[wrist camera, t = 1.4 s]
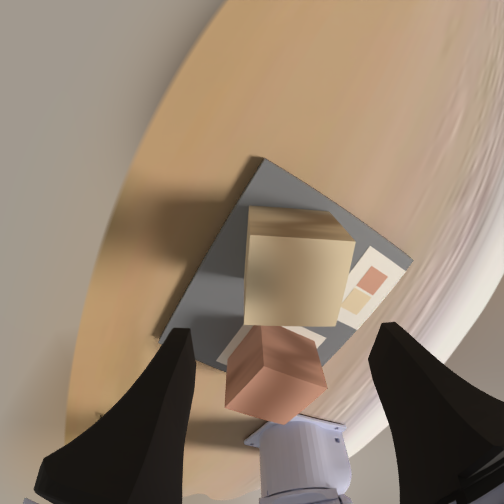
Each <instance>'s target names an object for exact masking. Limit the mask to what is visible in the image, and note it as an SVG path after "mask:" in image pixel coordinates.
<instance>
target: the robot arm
mask: <svg viewBox="0 0 504 504" xmlns="http://www.w3.org/2000/svg"><path fill="white" fill-rule="evenodd" d="M368 361H369V365H370V370H371V374H372V378H373V382H374V384H375V387H376V390H377V393H378V395H379V398H380V401H381V403H382V406H383V409H384V411H385V414H386V417H387V420H388V423H389V426H390V429H391V432H392V436H393V441H394V447H395V452H396V458H397V465H398V474H399V486H400V504H504V402H503V401H500V400H498V399H496V398H494V397H492V396H490V395H488V394H486V393H485V392H483V391H481V390H479V389H478V388H476V387H474V386H472V385H471V384H470V383H468V382H467V381H465V380H464V379H462V378H461V377H459V376H458V375H457V374H455V373H454V372H453V371H451V370H450V369H449V368H448V367H446V366H445V365H444V364H443V363H441V362H440V361H439V360H438V359H437V358H435V357H434V356H433V355H432V354H431V353H430V352H429V351H427V350H426V349H425V348H424V347H423V346H422V345H421V344H420V343H419V342H417V341H416V340H415V339H414V338H413V337H412V336H411V335H410V334H409V333H407V332H406V331H405V330H404V329H403V328H402V327H401V326H399V325H398V324H397V323H396V322H388V323H382V324H381V326H380V329H379V332H378V334H377V337H376V340H375V342H374V345H373V347H372V350H371V353H370V355H369V357H368ZM195 374H196V361H195V355H194V349H193V343H192V336H191V329H190V328H173V329H172V330H171V331H170V333H169V334H168V336H167V338H166V339H165V341H164V343H163V344H162V346H161V347H160V349H159V350H158V352H157V353H156V355H155V356H154V358H153V359H152V360H151V362H150V363H149V365H148V366H147V367H146V369H145V370H144V371H143V373H142V374H141V375H140V377H139V378H138V379H137V380H136V382H135V383H134V384H133V385H132V386H131V388H130V389H129V390H128V391H127V392H126V393H125V395H124V396H123V397H122V398H121V399H120V400H119V401H118V402H117V403H116V404H115V405H114V406H113V407H112V408H111V409H110V410H109V411H108V412H107V413H106V414H105V415H104V416H103V417H102V418H101V419H99V420H98V421H97V422H96V423H95V424H94V425H92V426H91V427H90V428H89V429H87V430H86V431H85V432H83V433H82V434H81V435H79V436H78V437H77V438H75V439H74V440H73V441H71V442H70V443H68V444H67V445H65V446H64V447H62V448H60V449H59V450H57V451H55V452H54V453H52V454H50V455H49V456H47V457H45V458H44V459H43V462H42V464H41V466H40V469H39V473H38V476H37V480H36V483H35V487H34V491H35V493H37V494H38V495H39V496H41V497H43V498H44V499H46V500H48V501H49V502H51V503H53V504H182V476H183V455H184V443H185V436H186V431H187V426H188V420H189V415H190V410H191V404H192V399H193V394H194V387H195ZM345 430H346V425H342V424H337V423H332V422H328V421H324V420H319V419H315V418H311V417H307V416H303V415H299V414H298V415H296V416H295V417H294V418H293V419H291V420H290V421H289V422H288V423H286V424H285V425H282V424H278V423H274V422H271V421H268V422H267V423H266V424H264V425H263V426H262V427H261V428H259V429H258V430H257V431H256V432H254V433H253V434H252V435H251V436H249V437H248V438H247V439H245V440H244V444H245V445H249V446H253V447H257V448H259V451H260V474H261V495H262V498H259V504H353V502H352V500H351V499H350V498H349V497H347V496H346V495H345V494H344V493H345V492H346V490H347V489H348V487H349V485H350V481H351V475H352V474H351V467H350V463H349V458H348V454H347V450H346V446H345V442H344V439H343V435H342V432H343V431H345ZM23 504H38V503H36V502H34V501H31V500H30V499H28V498H24V502H23Z"/></svg>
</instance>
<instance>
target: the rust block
mask: <svg viewBox="0 0 504 504" xmlns="http://www.w3.org/2000/svg"><path fill="white" fill-rule="evenodd" d="M326 389H328V388H327V384H326V381H325V377H324V373H323V370H322V366H321V362H320V359H319V355H318V352H317V348H316V345H315V341H313V340H311V339H309V338H306V337H304V336H302V335H299V334H297V333H295V332H293V331H290V330H288V329H286V328H284V327H282V326H261V325H254V326H253V327H252V328H251V330H250V331H249V332H248V334H247V335H246V336H245V337H244V339H243V340H242V341H241V343H240V344H239V345H238V346H237V348H236V349H235V350H234V351H233V353H232V354H231V355H230V356H229V358H228V359H227V375H226V392H225V408H227V409H230V410H234V411H237V412H240V413H243V414H246V415H250V416H253V417H256V418H260V419H263V420H267V421H271V422H274V423H278V424H282V425H285V424H286V423H288V422H289V421H290V420H291V419H293V418H294V417H295V416H296V415H298V414H299V413H300V412H301V411H302V410H304V409H305V408H306V407H307V406H308V405H309V404H311V403H312V402H313V401H314V400H315V399H316V398H317V397H319V396H320V395H321V394H322V393H323V392H324V391H325V390H326Z"/></svg>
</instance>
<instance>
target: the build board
mask: <svg viewBox="0 0 504 504" xmlns="http://www.w3.org/2000/svg"><path fill="white" fill-rule="evenodd" d="M249 206H265V207H280V208H293V209H306V210H318V211H329V212H330V213H331V214H332V215H333V216H334V217H335V219H336V220H337V221H338V222H339V223H340V224H341V225H342V226H343V228H344V229H345V230H346V231H347V232H348V233H349V234H350V236H351V237H352V238H353V239H354V240H355V241H356V243H355V248H354V253H353V257H352V262H351V266H350V271H349V275H348V279H347V284H346V288H345V292H344V296H343V300H342V304H341V308H340V311H339V315H338V319H337V322H336V326H330V327H309V326H282V327H284V328H286V329H288V330H290V331H293V332H295V333H297V334H299V335H302V336H304V337H306V338H309V339H311V340H313V341H315V345H316V348H317V352H318V355H319V359H320V362H321V366H323V365H324V364H325V363H326V362H327V361H328V360H329V359H330V358H331V357H332V356H333V355H334V354H335V353H336V352H337V351H338V350H339V349H340V348H341V347H342V346H343V345H344V343H345V342H346V341H347V340H348V339H349V338H350V337H351V336H352V335H353V334H354V333H355V332H356V330H358V329H359V328H360V326H361V325H362V324H363V323H364V322H365V321H366V320H367V318H368V317H369V316H370V315H371V314H372V313H373V311H374V310H375V309H376V308H377V307H378V306H379V304H380V303H381V302H382V301H383V300H384V298H385V297H386V296H387V295H388V293H389V292H390V291H391V290H392V288H393V287H394V286H395V285H396V283H397V282H398V281H399V280H400V278H401V277H402V276H403V274H404V273H405V272H406V270H407V269H408V267H409V266H410V265H411V263H412V262H413V261H414V260H412V259H411V258H410V257H409V256H408V255H407V254H406V253H404V252H403V251H402V250H400V249H399V248H398V247H396V246H395V245H394V244H392V243H391V242H390V241H388V240H387V239H386V238H384V237H383V236H382V235H380V234H379V233H378V232H376V231H375V230H374V229H372V228H371V227H369V226H368V225H367V224H365V223H364V222H362V221H361V220H360V219H358V218H357V217H355V216H354V215H353V214H351V213H350V212H348V211H347V210H345V209H344V208H342V207H341V206H340V205H338V204H337V203H335V202H334V201H332V200H331V199H329V198H328V197H326V196H325V195H323V194H322V193H320V192H319V191H317V190H316V189H314V188H312V187H311V186H309V185H308V184H306V183H305V182H303V181H302V180H300V179H298V178H297V177H295V176H294V175H292V174H290V173H289V172H287V171H286V170H284V169H282V168H281V167H279V166H277V165H276V164H274V163H272V162H271V161H269V160H267V159H266V158H264V159H263V161H262V162H261V164H260V165H259V167H258V169H257V170H256V172H255V173H254V175H253V177H252V178H251V180H250V182H249V183H248V185H247V186H246V188H245V190H244V191H243V193H242V195H241V196H240V198H239V200H238V201H237V203H236V205H235V206H234V208H233V210H232V211H231V213H230V215H229V216H228V218H227V220H226V221H225V223H224V225H223V226H222V228H221V230H220V232H219V233H218V235H217V237H216V238H215V240H214V242H213V243H212V245H211V247H210V249H209V250H208V252H207V254H206V256H205V257H204V259H203V261H202V263H201V264H200V266H199V268H198V270H197V271H196V273H195V275H194V277H193V278H192V280H191V282H190V284H189V285H188V287H187V289H186V291H185V293H184V294H183V296H182V298H181V300H180V302H179V303H178V305H177V307H176V309H175V311H174V312H173V314H172V316H171V318H170V320H169V322H168V323H167V325H166V327H165V329H164V331H163V333H162V335H161V336H160V339H159V342H158V343H160V344H163V343H164V341H165V339H166V338H167V336H168V334H169V333H170V331H171V330H172V329H173V328H190V329H191V336H192V343H193V349H194V355H195V360H197V361H200V362H202V363H204V364H207V365H209V366H212V367H214V368H217V369H219V370H222V371H224V372H227V359H228V358H229V356H230V355H231V354H232V353H233V351H234V350H235V349H236V348H237V346H238V345H239V344H240V343H241V341H242V340H243V339H244V337H245V336H246V335H247V334H248V332H249V331H250V330H251V328H252V327H253V326H254V325H244V272H245V256H246V241H247V226H248V211H249Z"/></svg>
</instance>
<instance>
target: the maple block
mask: <svg viewBox="0 0 504 504" xmlns="http://www.w3.org/2000/svg"><path fill="white" fill-rule="evenodd" d="M355 243H356V241H355V240H354V239H353V238H352V237H351V236H350V234H349V233H348V232H347V231H346V230H345V229H344V228H343V226H342V225H341V224H340V223H339V222H338V221H337V220H336V219H335V217H334V216H333V215H332V214H331V213H330V212H329V211H318V210H306V209H293V208H280V207H265V206H249V211H248V226H247V241H246V256H245V272H244V325H261V326H309V327H330V326H336V322H337V319H338V315H339V311H340V308H341V304H342V300H343V296H344V292H345V288H346V284H347V279H348V275H349V271H350V266H351V262H352V257H353V253H354V248H355Z"/></svg>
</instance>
